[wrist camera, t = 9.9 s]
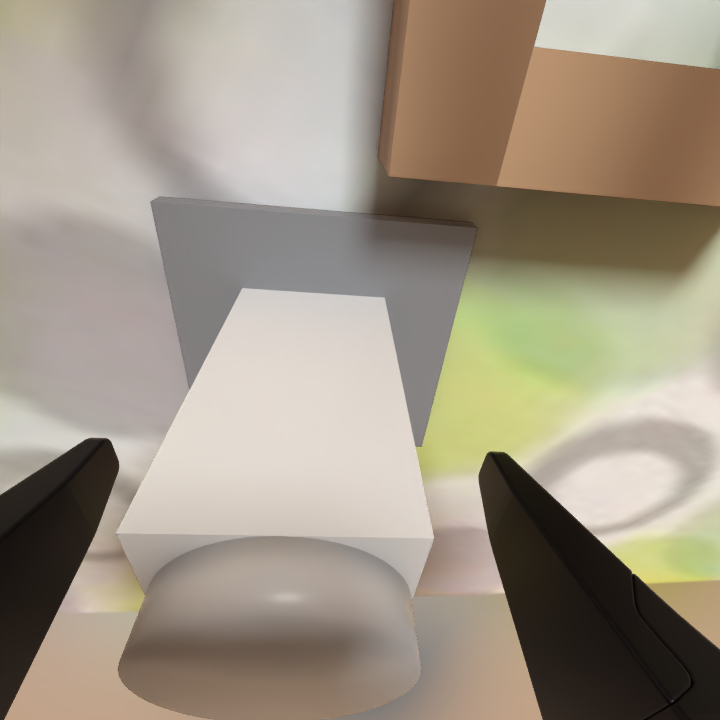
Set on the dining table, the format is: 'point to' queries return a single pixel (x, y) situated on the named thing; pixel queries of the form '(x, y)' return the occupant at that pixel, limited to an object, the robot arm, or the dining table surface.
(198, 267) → the mat
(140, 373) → the dining table surface
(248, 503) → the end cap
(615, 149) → the housing
